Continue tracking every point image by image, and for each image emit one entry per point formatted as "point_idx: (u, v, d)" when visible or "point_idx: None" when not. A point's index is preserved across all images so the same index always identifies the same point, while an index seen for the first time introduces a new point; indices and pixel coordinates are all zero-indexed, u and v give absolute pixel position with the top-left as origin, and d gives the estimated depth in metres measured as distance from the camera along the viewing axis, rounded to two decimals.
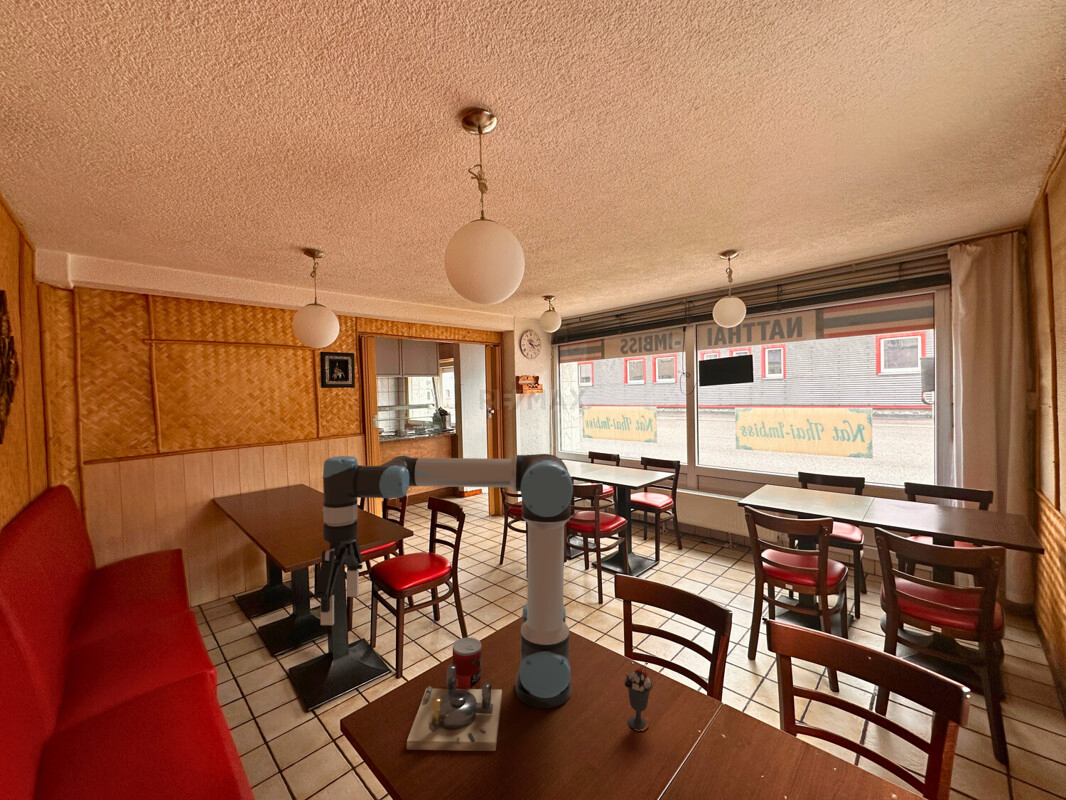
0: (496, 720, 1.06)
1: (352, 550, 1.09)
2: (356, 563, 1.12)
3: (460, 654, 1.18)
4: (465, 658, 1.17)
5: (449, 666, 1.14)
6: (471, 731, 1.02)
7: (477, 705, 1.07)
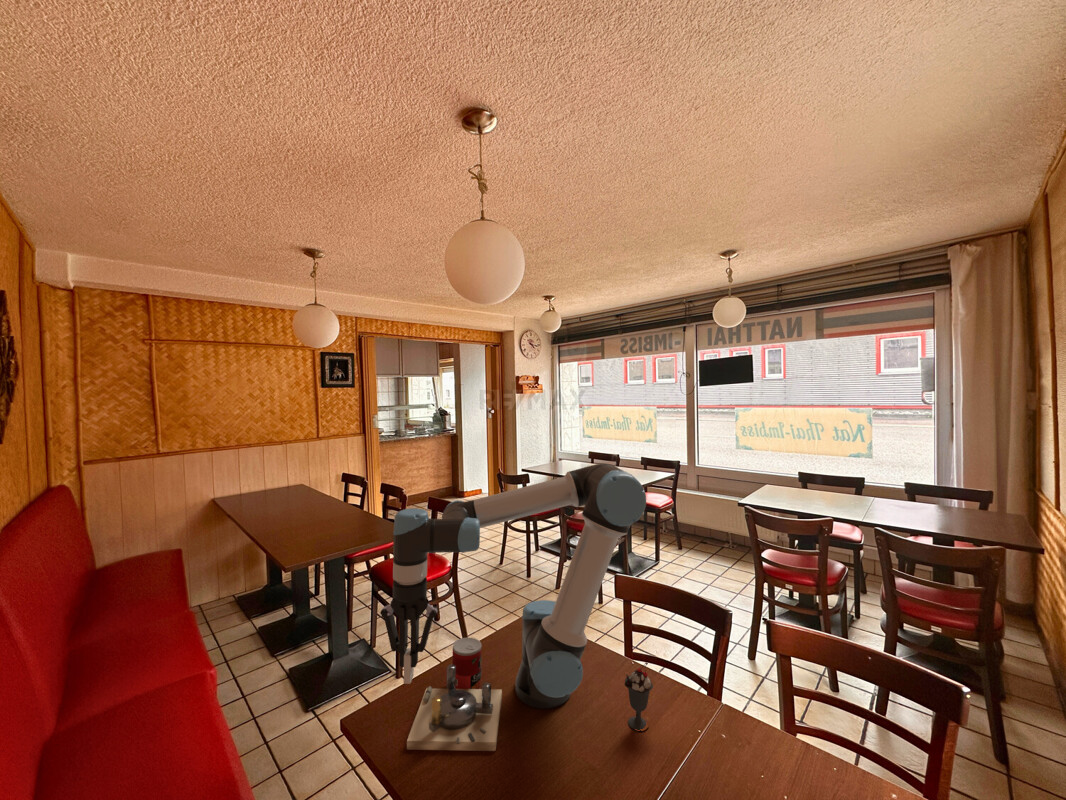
0: (496, 720, 1.06)
1: (413, 619, 1.00)
2: (412, 643, 1.00)
3: (460, 654, 1.18)
4: (465, 658, 1.17)
5: (449, 666, 1.14)
6: (471, 731, 1.02)
7: (477, 705, 1.07)
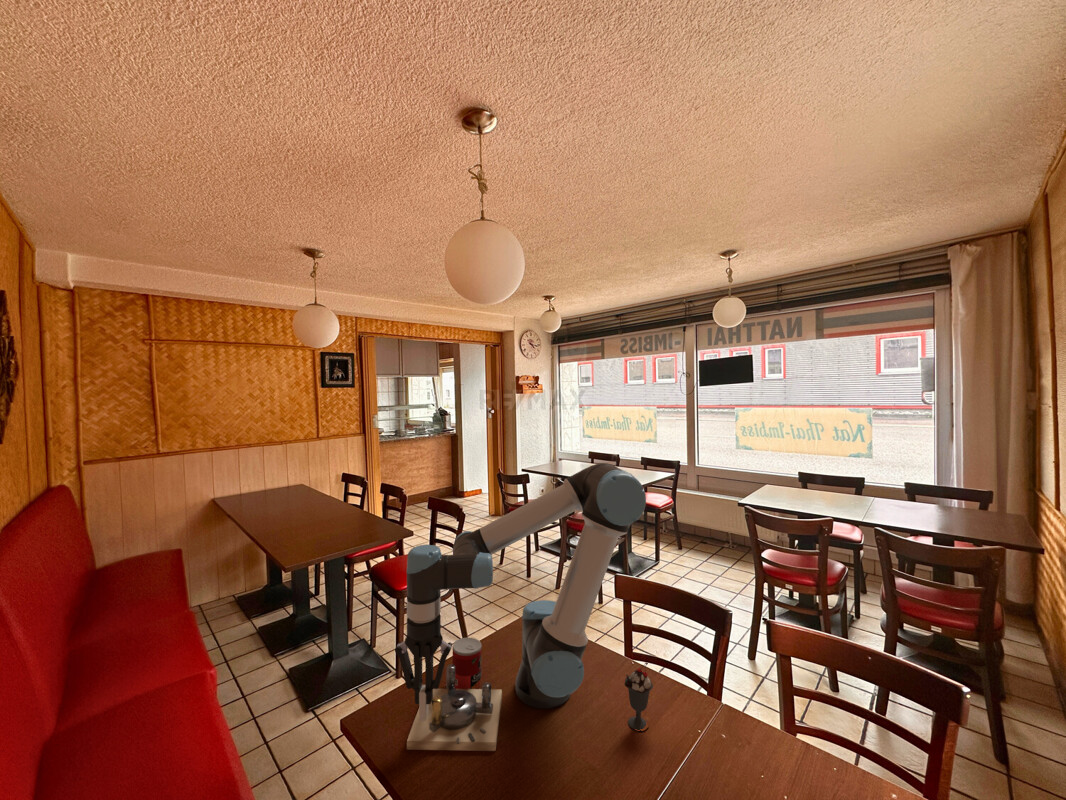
0: (496, 720, 1.06)
1: (428, 656, 1.00)
2: (427, 680, 1.00)
3: (460, 654, 1.18)
4: (465, 658, 1.17)
5: (449, 666, 1.14)
6: (471, 731, 1.02)
7: (477, 705, 1.07)
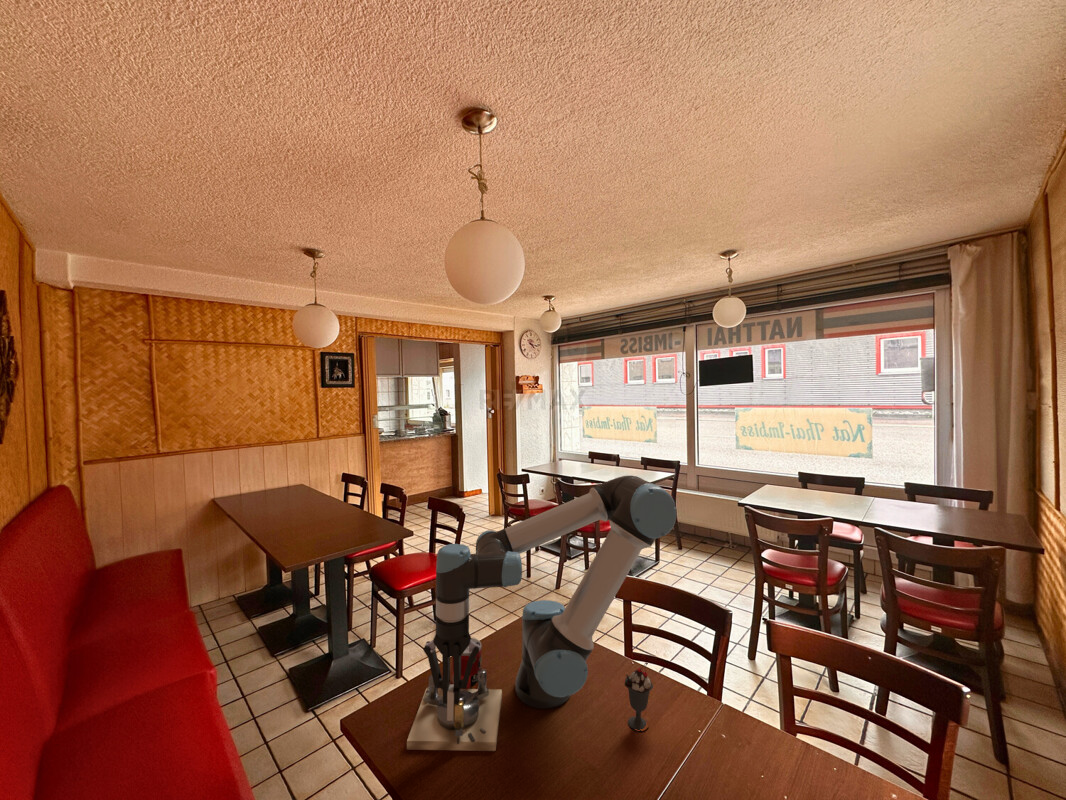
0: (496, 720, 1.06)
1: (456, 656, 1.00)
2: (455, 680, 1.00)
3: None
4: (465, 658, 1.17)
5: (431, 677, 1.10)
6: (471, 731, 1.02)
7: (475, 694, 1.11)
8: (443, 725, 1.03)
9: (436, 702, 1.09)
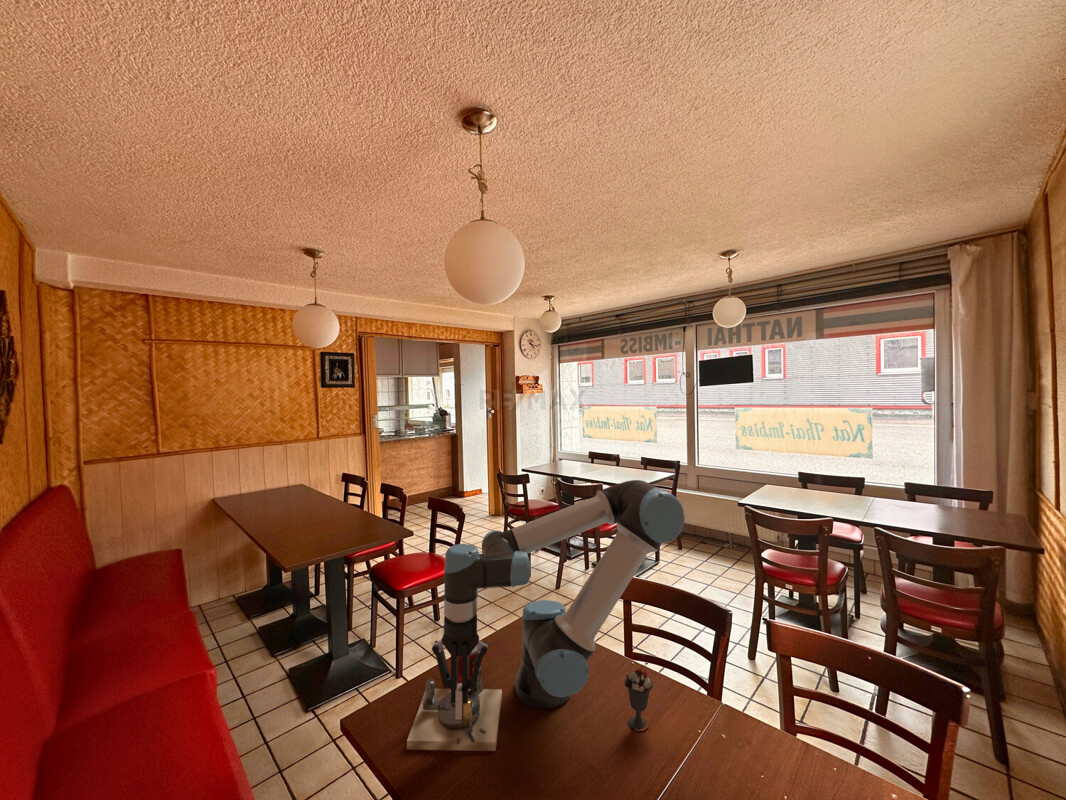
0: (496, 720, 1.06)
1: (465, 655, 1.00)
2: (463, 679, 1.00)
3: None
4: None
5: (428, 682, 1.08)
6: None
7: (471, 692, 1.12)
8: (449, 727, 1.03)
9: (434, 707, 1.08)
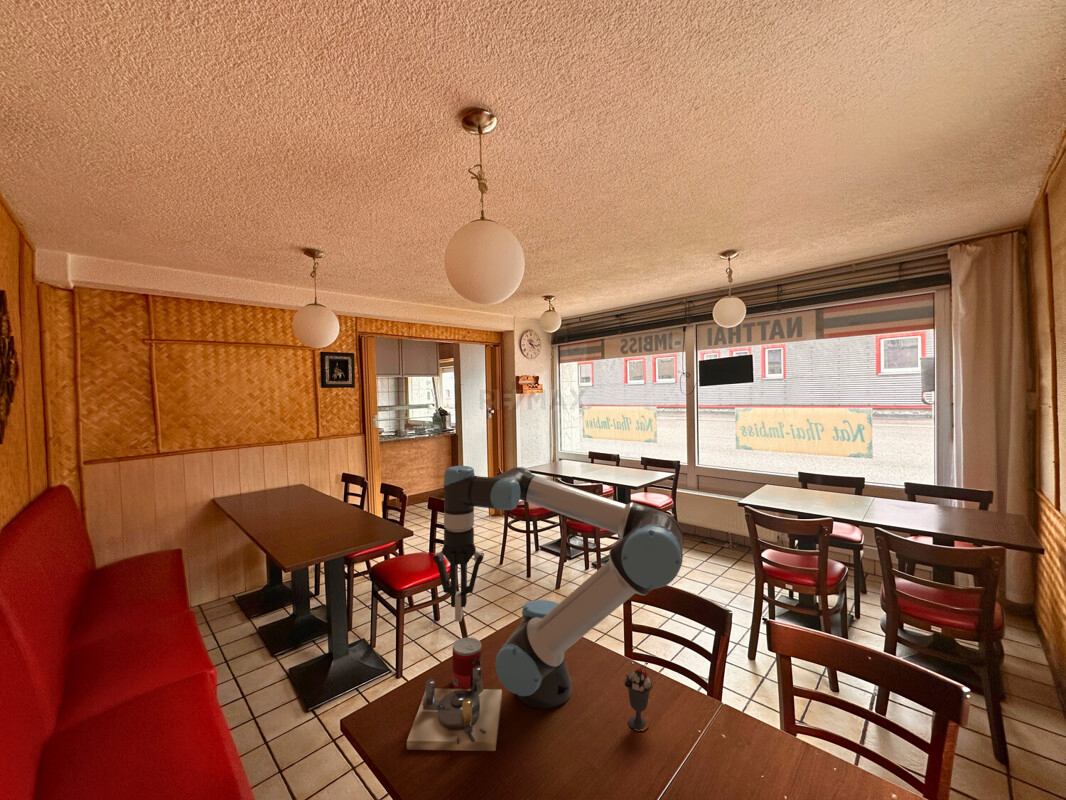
0: (496, 720, 1.06)
1: (463, 563, 1.11)
2: (462, 585, 1.12)
3: (460, 654, 1.18)
4: (465, 658, 1.17)
5: (428, 682, 1.08)
6: None
7: (471, 692, 1.12)
8: (449, 727, 1.03)
9: (434, 706, 1.08)
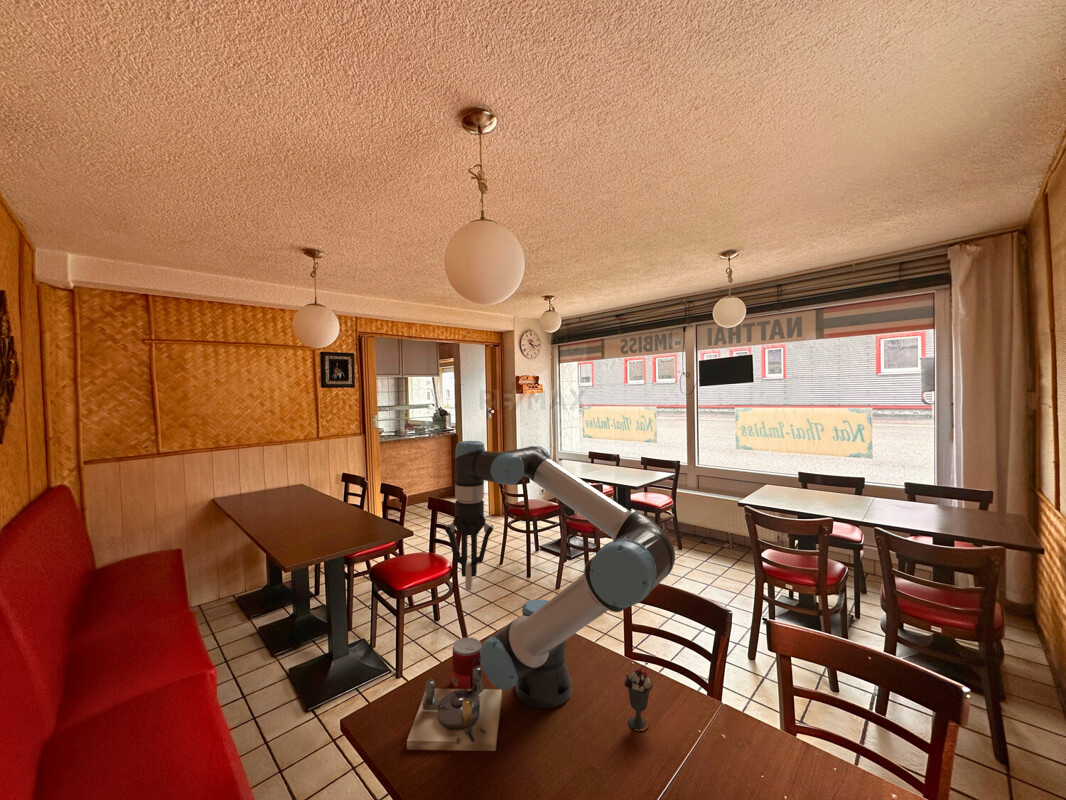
0: (496, 720, 1.06)
1: (473, 534, 1.15)
2: (472, 555, 1.16)
3: (460, 654, 1.18)
4: (465, 658, 1.17)
5: (428, 682, 1.08)
6: None
7: (471, 692, 1.12)
8: (449, 727, 1.03)
9: (434, 706, 1.08)
